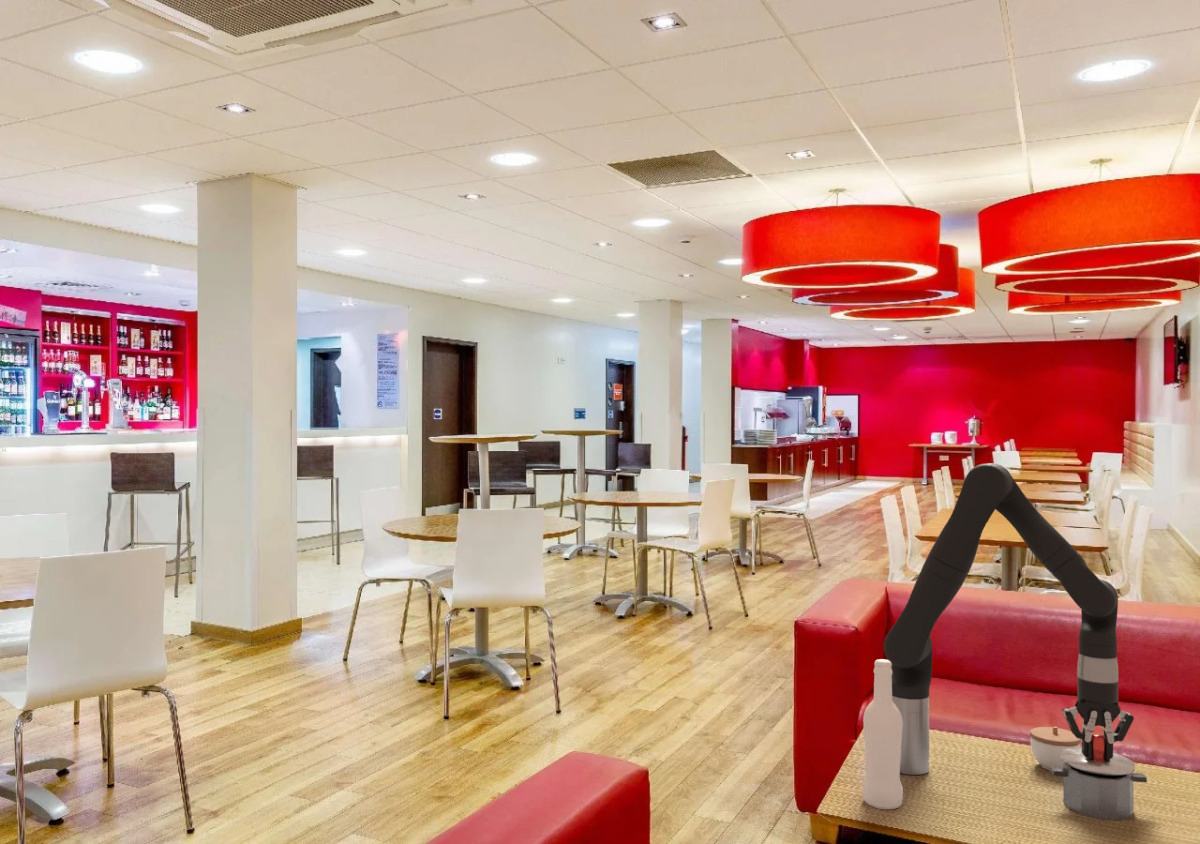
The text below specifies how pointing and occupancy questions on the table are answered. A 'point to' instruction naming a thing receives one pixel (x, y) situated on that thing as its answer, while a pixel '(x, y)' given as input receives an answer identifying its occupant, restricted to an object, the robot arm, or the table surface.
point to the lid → (1098, 759)
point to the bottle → (882, 743)
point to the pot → (1098, 792)
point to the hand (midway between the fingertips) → (1097, 758)
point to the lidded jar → (1051, 745)
